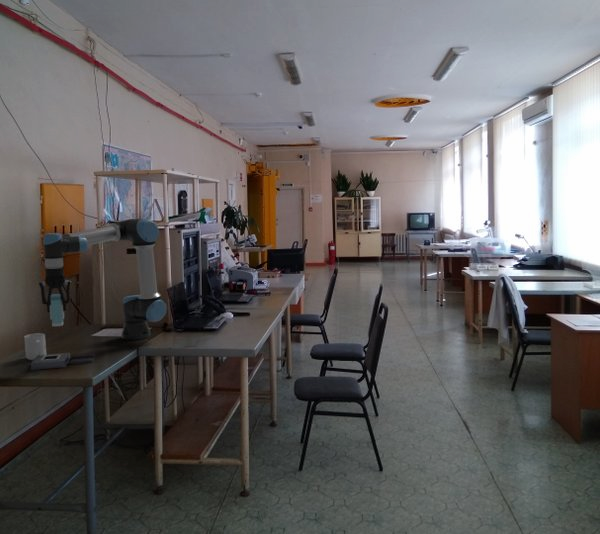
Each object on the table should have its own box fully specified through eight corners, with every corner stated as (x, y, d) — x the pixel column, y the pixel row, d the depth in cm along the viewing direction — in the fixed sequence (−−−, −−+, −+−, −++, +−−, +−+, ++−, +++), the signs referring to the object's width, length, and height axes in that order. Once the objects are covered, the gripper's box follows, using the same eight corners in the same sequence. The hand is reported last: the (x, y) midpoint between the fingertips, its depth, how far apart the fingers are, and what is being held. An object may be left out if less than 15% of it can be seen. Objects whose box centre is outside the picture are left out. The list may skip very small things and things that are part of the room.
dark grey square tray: (95, 357, 261) (94, 354, 261) (92, 363, 252) (92, 359, 251) (72, 359, 259) (72, 355, 259) (69, 365, 249) (68, 361, 249)
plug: (63, 323, 252) (61, 293, 250) (62, 325, 248) (60, 295, 246) (53, 324, 251) (51, 294, 249) (52, 326, 247) (50, 295, 245)
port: (70, 359, 259) (69, 352, 258) (65, 368, 245) (64, 360, 245) (38, 362, 255) (37, 354, 255) (31, 371, 242) (30, 363, 242)
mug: (24, 357, 264) (22, 335, 263) (44, 354, 269) (42, 332, 268) (29, 363, 254) (27, 339, 253) (49, 359, 260) (48, 336, 258)
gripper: (75, 266, 252) (78, 316, 255) (35, 267, 248) (38, 318, 250) (73, 267, 245) (76, 319, 247) (31, 269, 241) (35, 321, 243)
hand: (57, 318), depth 249 cm, fingers closed on plug, 4 cm apart
